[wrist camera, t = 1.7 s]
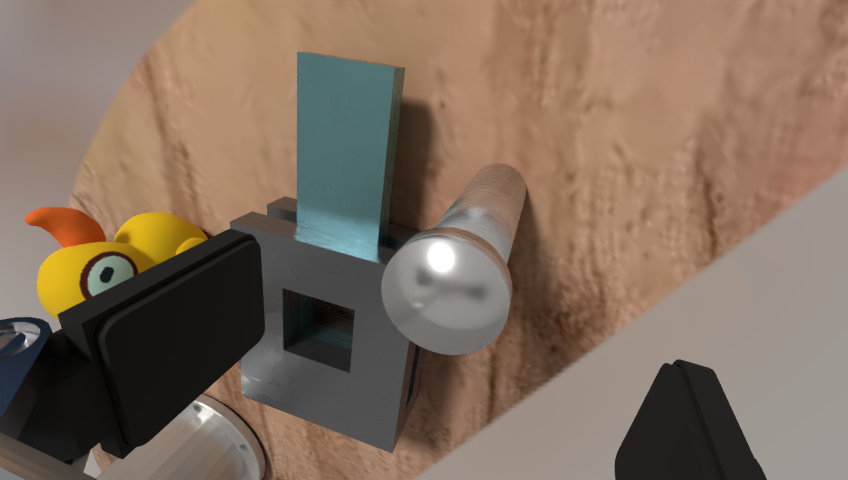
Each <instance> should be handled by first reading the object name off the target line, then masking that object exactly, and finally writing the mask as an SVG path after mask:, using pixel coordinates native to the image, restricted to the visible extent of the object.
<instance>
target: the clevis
mask: <svg viewBox="0 0 848 480" xmlns="http://www.w3.org/2000/svg"><path fill="white" fill-rule="evenodd" d="M404 73H405V68H404V67H397V66H391V65H385V64H379V63H373V62H367V61H361V60H354V59H348V58H342V57H336V56H330V55H324V54H318V53H309V52H297V200H296V199H292V198H288V197H283V198H280V199H278V200H276V201H274V202H272V203H270V204H267V214H268V216H266V215H263V214H259V213H255V212H250V213H248V214H246V215H244V216H242V217H239V218H237V219H235V220H233V221H231V222H230V227H231V229H235V230H238V231H241V232H245V233H248V234H252V235H253V236H255V238H256V240H257V242H258V243H259V244H260V247H261V260H262V278H263V297H264V315H265V332H264V335H263V337H262V339H261V340H260V341H259V342H258V343H257V344H256V345H255V346H254V347H253V348H252V349H251V350H250V351H249V352H247V353H246V354H245V355H244V356H243V357H242V358H241V359H240V364H241V377H242V391H243V396H245V397H247V398H250V399H252V400H255V401H258V402H260V403H263V404H265V405H268V406H271V407H273V408H276V409H278V410H281V411H284V412H286V413H289V414H291V415H294V416H297V417H299V418H302V419H304V420H307V421H310V422H312V423H315V424H317V425H320V426H323V427H325V428H328V429H330V430H333V431H336V432H338V433H341V434H343V435H346V436H349V437H351V438H354V439H356V440H359V441H362V442H364V443H367V444H369V445H372V446H375V447H377V448H380V449H382V450H385V451H388V452H390V453H393V451H394V448H395V446H396V444H397V441H398V439H399V437H400V435H401V432H402V430H403V428H404V425H405V423H406V421H407V419H408V416H409V414H410V412H411V410H412V407H413V405H414V403H415V400H416V398H417V395H418V389H419V383H420V378H421V372H422V366H423V360H424V355H425V349H424V348H422V347H420V346H418V345H417V344H415V343H414V342H412V341H410V340H409V339H408V338H407V337H405V336H404V335H403V334H402V333H401V332H400V331H399V330H398V329H397V327H396V326H395V325H394V324H393V322H392V321H391V319H390V318H389V316H388V314H387V312H386V309H385V307H384V304H383V300H382V293H381V283H382V277H383V274H384V271H385V268H386V267H387V265H388V263H389V261H390V260H391V259H392V257H393V256H394V255H395V254H396V253H397V252H398V251H399V250H400V248H401V247H402V246H403V245H404V244H405V243H406V242H407V241H408V240H409V239H410V238H412V237H413V236H415V235H416V234H418V233H420V232H422V231H419V230H415V229H411V228H407V227H403V226H399V225H395V224H391V223H389V214H390V204H391V195H392V185H393V176H394V167H395V157H396V148H397V139H398V129H399V120H400V110H401V101H402V92H403V82H404ZM325 301H326V302H330V303H333V304H336V305H339V306H342V307H346V308H349V309H352V310H355V314H354V317H353V316H349V315H346V314H343V313H340V312H337V311H333V310H330V309H327V308H325Z"/></svg>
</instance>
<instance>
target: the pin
mask: <svg viewBox="0 0 848 480" xmlns="http://www.w3.org/2000/svg"><path fill="white" fill-rule="evenodd" d="M526 191H527V189H526V183H525V180H524V178H523V177H522V175H521V174H520V173H519V172H518V171H517V170H516V169H515V168H513V167H511V166H509V165H506V164H492V165H488V166H486V167H484V168H483V169H481V170H480V171H479V172H478V173H477V175H476V176H475V177H474V178H473V180H472V181H471V182H470V183H469V185H468V186H467V187H466V188H465V190H464V191H463V192H462V193H461V195H460V196H459V197H458V198H457V200H456V201H455V202H454V203H453V205H452V206H451V207H450V208H449V210H448V211H447V212H446V213H445V215H444V216H443V217H442V218H441V220H440V221H439V222H438V223H437V225H436V226H435V227H434V228H432V229H428V230H425V231H422V232H420V233H418V234H416V235H415V236H413V237H412V238H410V239H409V240H408V241H407V242H406V243H405V244H404V245H403V246H402V247H401V248H400V250H399V251H398V252H397V253H396V254H395V255H394V256H393V257H392V259H391V260H390V261H389V263H388V265H387V267H386V268H385V271H384V274H383V277H382V283H381V293H382V300H383V304H384V307H385V309H386V312H387V314H388V316H389V318H390V319H391V321H392V322H393V324H394V325H395V326H396V327H397V329H398V330H399V331H400V332H401V333H402V334H403V335H404V336H405V337H407V338H408V339H409V340H410V341H412V342H414V343H415V344H417V345H418V346H420V347H422V348H424V349H427V350H429V351H432V352H436V353H440V354H446V355H464V354H470V353H473V352H476V351H479V350H481V349H483V348H485V347H486V346H488V345H489V344H491V343H492V342H493V341H494V340H495V339H496V338H497V337H498V336H499V334H500V333H501V331H502V330H503V328H504V326H505V323H506V320H507V316H508V312H509V307H510V303H511V298H512V279H511V276H510V272H509V270H508V267H507V263H508V259H509V255H510V252H511V248H512V245H513V241H514V237H515V234H516V230H517V227H518V223H519V219H520V216H521V212H522V209H523V205H524V201H525V198H526Z"/></svg>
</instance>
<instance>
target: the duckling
mask: <svg viewBox="0 0 848 480" xmlns="http://www.w3.org/2000/svg"><path fill="white" fill-rule="evenodd" d="M25 221H26V223H27V224H29V225H33V226H38V227H41V228H43V229H45V230H47V231H48V232H49V233H50V234H51V235H52V236H53V237H54V238H55V239H56V240H57V241H58V242H59V243H60V244H61V245H62V246H63V247H64V248H62V249H60V250H58V251H56V252H54V253H53V254H52V255H50V256H49V257H48V258H47V259H46V260H45V261H44V262H43V264H42V266H41V267H40V270H39V273H38V280H37V291H38V295H39V299H40V301H41V303H42V305H43V307H44V308H45V309H46V310H47V311H48V313H49V314H51V315H52V316H53V317H54V318H56V319H57V320H59V318H58V315H57V314H59V313H61V312H63V311H65V310H67V309H69V308H71V307H73V306H75V305H77V304H79V303H81V302H83V301H85V300H87V299H89V298H91V297H93V296H95V295H97V294H99V293H101V292H103V291H105V290H107V289H109V288H111V287H113V286H115V285H117V284H119V283H121V282H123V281H125V280H127V279H129V278H131V277H133V276H135V275H137V274H139V273H141V272H143V271H145V270H147V269H149V268H151V267H153V266H155V265H157V264H159V263H161V262H163V261H165V260H167V259H169V258H171V257H173V256H175V255H177V254H179V253H182V252H184V251H186V250H188V249H190V248H192V247H194V246H196V245H198V244H200V243H202V242H204V241H206V240H208V238H207V236H206V235H205V233H204V232H203V231H202V230H201V229H199V228H198V227H197V226H195V225H194V224H192V223H190V222H188V221H186V220H184V219H182V218H180V217H178V216H176V215H173V214H170V213H165V212H152V213H144V214H139V215H137V216H134V217H133V218H131V219H129V220H128V221H127V222H126V223H125V224H124V225H123V226H122V227H121V228H120V230H119V231H118V233H117V234H116V237H115V239H114V242H111V241H106V237H105V234H104V232H103V230H102V228H101V226H100V225H99V224H98V223H97V222H96V221H95V220H93V219H92V218H91V217H89V216H88V215H86V214H85V213H83V212H81V211H79V210H76V209H71V208H63V207H43V208H40V209H37V210H35V211H32V212H31V213H29V214H28V215H27V216H26V218H25Z"/></svg>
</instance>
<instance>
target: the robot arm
mask: <svg viewBox="0 0 848 480" xmlns="http://www.w3.org/2000/svg"><path fill="white" fill-rule="evenodd" d="M57 315H58V318H59V321H60V324H61V327H62V329H60V330H58V331H56V332H55V333H53V332H52V330H51V327H50V326H49V323H48V322H46V321H44V320H42V319H39V318H32V317H15V318H9V319H3V320H0V480H262V479H263V477H264V474H265V459H264V455H263V451H262V449H261V447H260V445H259V442H258V440H257V439H256V437H255V436H254V434H253V433H252V431H251V430H250V429H249V428H248V426H247V425H246V424H245V423H244V422H243V421H242V420H241V419H240V418H239V417H238V416H237V415H236V414H235V413H234V412H232V411H231V410H230V409H229V408H227V407H226V406H225V405H223V404H221V403H220V402H218V401H216V400H215V399H213V398H211V397H208V396H206V395H204V394H202V393H203V392H204V391H206V390H207V389H208V388H209V387H210V386H211V385H212V384H213V383H214V382H215V381H217V380H218V379H219V378H220V377H221V376H222V375H223V374H224V373H225V372H226V371H228V370H229V369H230V368H231V367H232V366H233V365H234V364H235V363H236V362H238V361H239V360H240V359H241V358H242V357H243V356H244V355H245V354H246V353H247V352H249V351H250V350H251V349H252V348H253V347H254V346H255V345H256V344H257V343H258V342H259V341H260V340H261V339H262V337H263V335H264V332H265V315H264V297H263V278H262V260H261V247H260V244H259V243H258V242H257V240H256V238H255V236H253V235H252V234H248V233H245V232H241V231H238V230H235V229H229V230H226V231H224V232H222V233H220V234H218V235H216V236H214V237H212V238H210V239H208V240H206V241H204V242H202V243H200V244H198V245H196V246H194V247H192V248H190V249H188V250H186V251H184V252H182V253H179V254H177V255H175V256H173V257H171V258H169V259H167V260H165V261H163V262H161V263H159V264H157V265H155V266H153V267H151V268H149V269H147V270H145V271H143V272H141V273H139V274H137V275H135V276H133V277H131V278H129V279H127V280H125V281H123V282H121V283H119V284H117V285H115V286H113V287H111V288H109V289H107V290H105V291H103V292H101V293H99V294H97V295H95V296H93V297H91V298H89V299H87V300H85V301H83V302H81V303H79V304H77V305H75V306H73V307H71V308H69V309H67V310H65V311H63V312H61V313H59V314H57ZM99 442H100V445H101V448H102V450H103V451H105V452H108V453H110V454H112V455H114V456H116V457H118V459H117V460H116V461H115V462H113V463H112V464H111V465H110V466H109V467H108V468H107V469H105V470H104V471H103V472H102V473H101V474H100V475H99V476H98V477H96V478H93V477H91V476H89V475H87V474H85V473H83V471H84V468H85V465H86V462H87V459H88V456H89V453H90V450H91V449H92V448H93V447H94V446H95V445H97V444H98V443H99ZM615 478H616V480H767V479H766V477H765V475H764V472H763V470H762V468H761V467H760V465H759V463H758V462H757V460H756V459H755V458H754V456H753V454H752V452H751V450H750V448H749V445H748V443H747V441H746V439H745V437H744V435H743V432H742V430H741V428H740V426H739V424H738V422H737V419H736V417H735V415H734V413H733V411H732V408H731V406H730V404H729V402H728V400H727V398H726V395H725V393H724V391H723V389H722V387H721V384H720V383H719V380H718V378H717V376H716V374H715V372H714V371H713V370H712V369H710V368H708V367H704V366H701V365H697V364H694V363H690V362H687V361H684V360H680V359H679V360H676V361H675V362H674V363H673V364H672V365H671V364H668V363H665V364H663V365H662V367H661V368H660V370H659V372H658V374H657V376H656V378H655V380H654V382H653V384H652V386H651V388H650V390H649V392H648V394H647V396H646V397H645V400H644V401H643V403H642V405H641V407H640V409H639V411H638V413H637V415H636V417H635V419H634V421H633V423H632V425H631V427H630V429H629V431H628V433H627V435H626V436H625V438H624V440H623V442H622V444H621V446H620V448H619V450H618V452H617V455H616V459H615Z"/></svg>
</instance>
